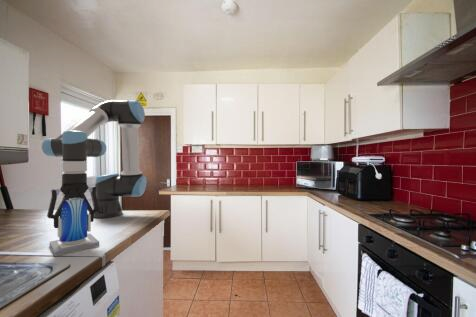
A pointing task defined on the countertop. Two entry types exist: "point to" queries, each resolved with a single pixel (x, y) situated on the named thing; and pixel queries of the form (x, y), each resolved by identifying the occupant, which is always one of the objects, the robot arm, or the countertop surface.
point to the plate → (73, 245)
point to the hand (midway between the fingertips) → (74, 233)
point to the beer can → (73, 221)
